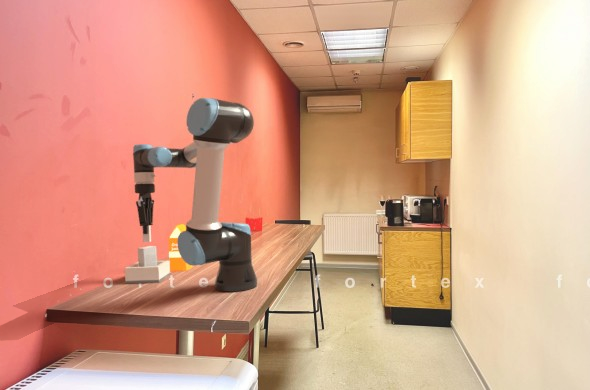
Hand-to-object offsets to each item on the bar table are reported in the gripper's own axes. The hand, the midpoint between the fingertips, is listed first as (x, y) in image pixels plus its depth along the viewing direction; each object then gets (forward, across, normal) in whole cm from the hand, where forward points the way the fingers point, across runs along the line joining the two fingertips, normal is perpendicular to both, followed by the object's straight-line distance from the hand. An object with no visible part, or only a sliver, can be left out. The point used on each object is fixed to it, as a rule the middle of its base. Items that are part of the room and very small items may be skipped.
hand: (147, 241), depth 156 cm
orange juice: (+15, +18, -8) cm, 25 cm away
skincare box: (+14, 0, 0) cm, 14 cm away
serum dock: (+15, 0, 0) cm, 15 cm away
